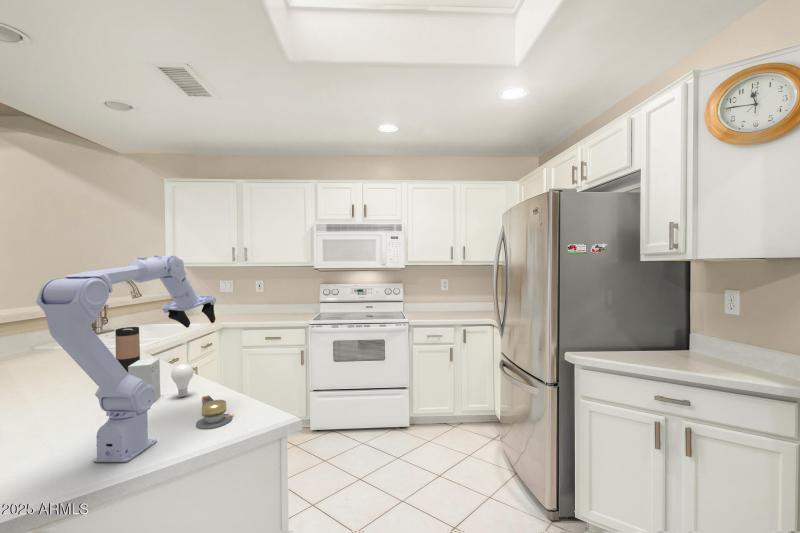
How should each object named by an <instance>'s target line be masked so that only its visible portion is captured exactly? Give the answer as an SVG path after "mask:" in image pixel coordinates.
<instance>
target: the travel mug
mask: <svg viewBox="0 0 800 533" xmlns="http://www.w3.org/2000/svg"><path fill="white" fill-rule="evenodd" d="M114 331H115V335H114V336H115V358H116V359H117V360H118V361H119V363H120V364H121V365H122V366H123V368H124V369H125V370H126V371H127V372H128V366H130V365H132V364H133V363H135V362H136V361H138V360H141V350H140V349H141V348H140V347H141V345H140V327H139V326H127V327H120V328H116V329H115V330H114Z"/></svg>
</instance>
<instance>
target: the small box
mask: <svg viewBox="0 0 800 533" xmlns="http://www.w3.org/2000/svg"><path fill="white" fill-rule="evenodd" d="M160 367H161V366H160V358H147V359H140V360H138V361H136V362H135V363H133V364H132V365H130V366H128V374H130V375H132V376H135V377H138V378H140V379H142V380H143V381H144V382H145V383H147V384H150V385H152V386H153V387H154V388H155V391H156V397H155V400H154V403H155V402H156V401H157V399H159V398H160V397H161V369H160Z"/></svg>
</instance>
